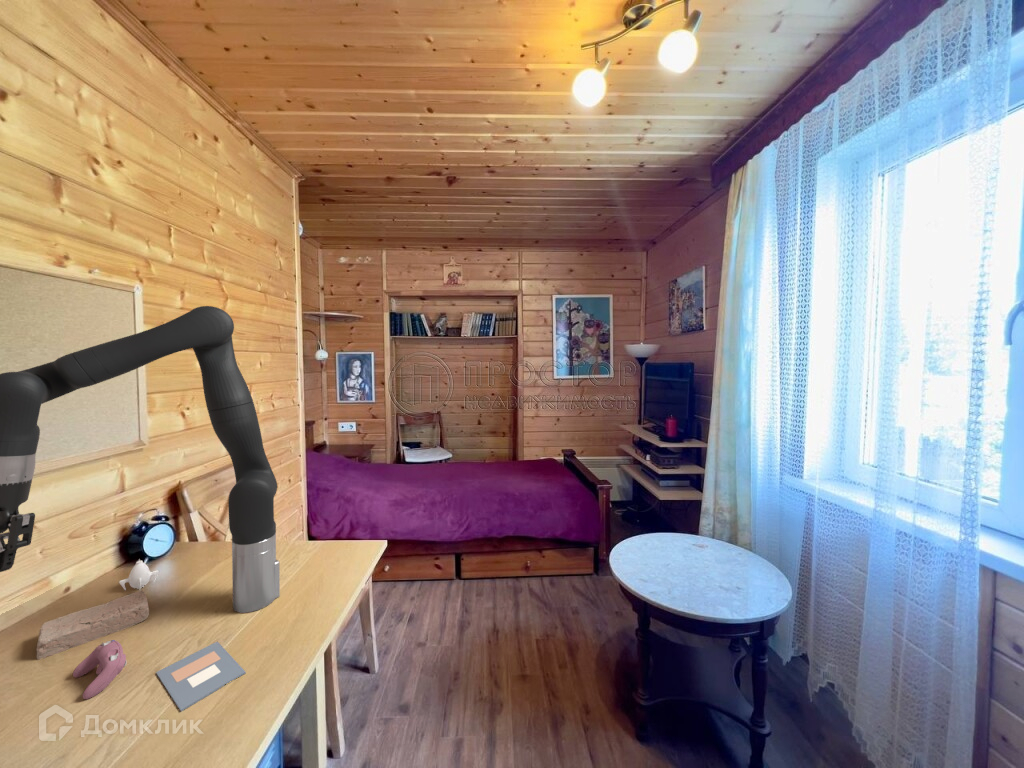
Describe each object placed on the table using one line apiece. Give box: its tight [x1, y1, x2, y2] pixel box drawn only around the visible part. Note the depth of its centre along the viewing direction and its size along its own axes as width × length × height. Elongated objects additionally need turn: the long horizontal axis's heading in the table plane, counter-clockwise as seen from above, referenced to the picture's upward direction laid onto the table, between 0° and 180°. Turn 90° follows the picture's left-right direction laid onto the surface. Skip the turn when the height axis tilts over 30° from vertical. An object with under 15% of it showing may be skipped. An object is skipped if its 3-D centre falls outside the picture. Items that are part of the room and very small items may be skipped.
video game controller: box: [72, 639, 128, 700], centre depth 72 cm, size 10×5×7 cm, turn 58°
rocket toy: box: [118, 559, 160, 591], centre depth 100 cm, size 5×5×8 cm
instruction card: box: [155, 641, 246, 712], centre depth 74 cm, size 10×14×1 cm
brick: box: [36, 590, 150, 660], centre depth 84 cm, size 17×8×5 cm, turn 140°
